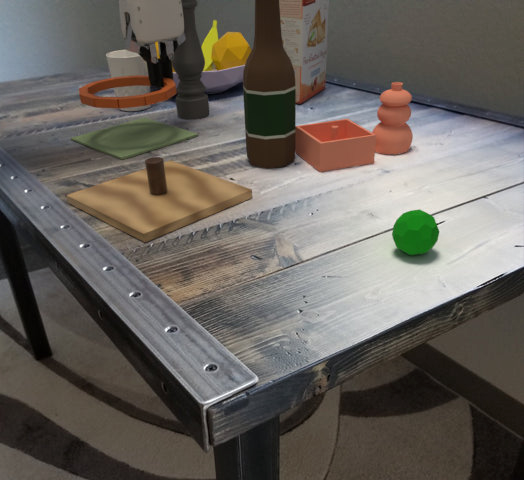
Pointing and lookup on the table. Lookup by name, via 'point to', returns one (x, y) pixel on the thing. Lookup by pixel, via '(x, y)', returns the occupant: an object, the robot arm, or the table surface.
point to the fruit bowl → (221, 60)
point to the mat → (133, 138)
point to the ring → (127, 101)
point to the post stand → (158, 198)
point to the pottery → (357, 135)
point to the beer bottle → (269, 93)
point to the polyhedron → (415, 232)
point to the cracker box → (306, 43)
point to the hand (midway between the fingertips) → (162, 84)
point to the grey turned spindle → (190, 69)
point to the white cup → (128, 74)
